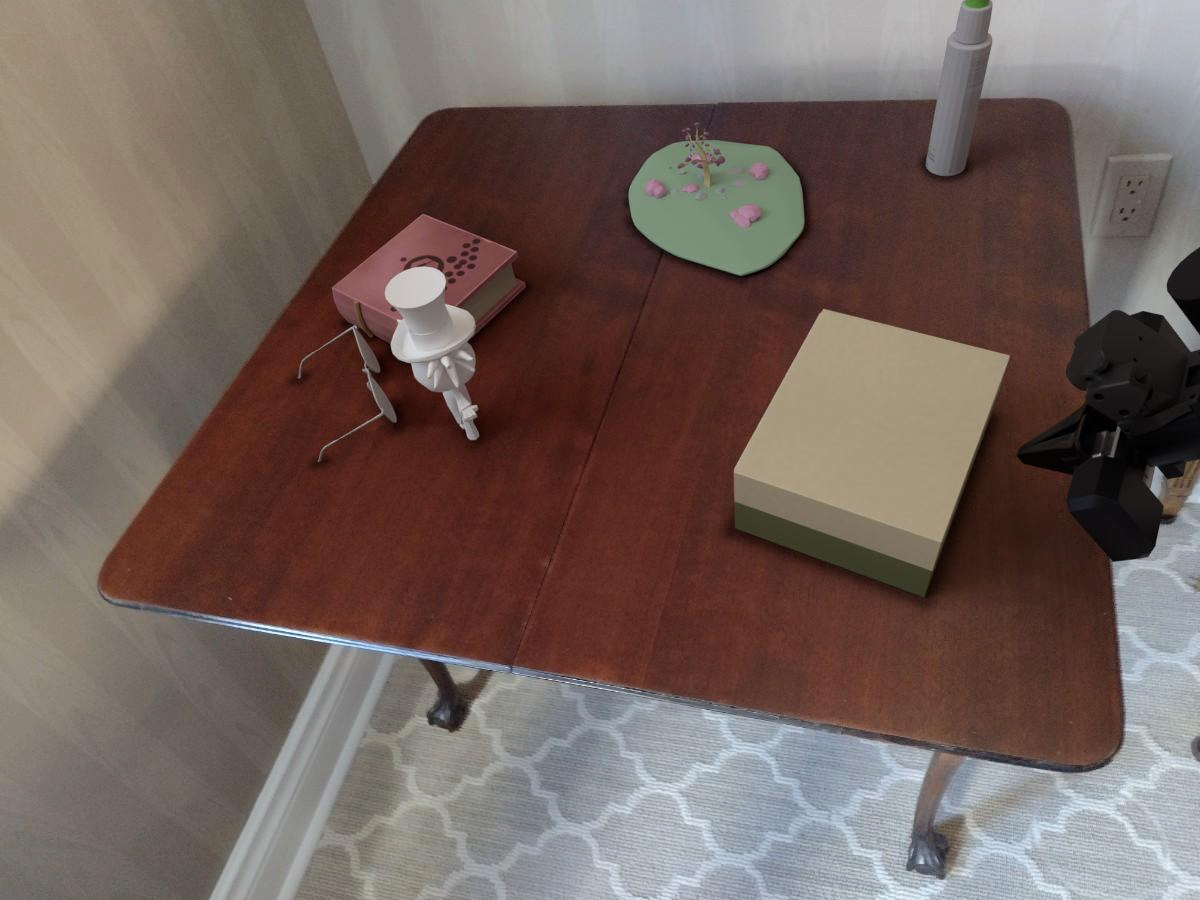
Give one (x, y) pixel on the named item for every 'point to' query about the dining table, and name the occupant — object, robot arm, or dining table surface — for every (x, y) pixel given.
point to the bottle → (960, 89)
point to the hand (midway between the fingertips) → (1020, 456)
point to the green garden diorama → (719, 203)
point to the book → (463, 258)
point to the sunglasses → (371, 384)
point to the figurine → (435, 339)
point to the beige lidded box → (868, 448)
